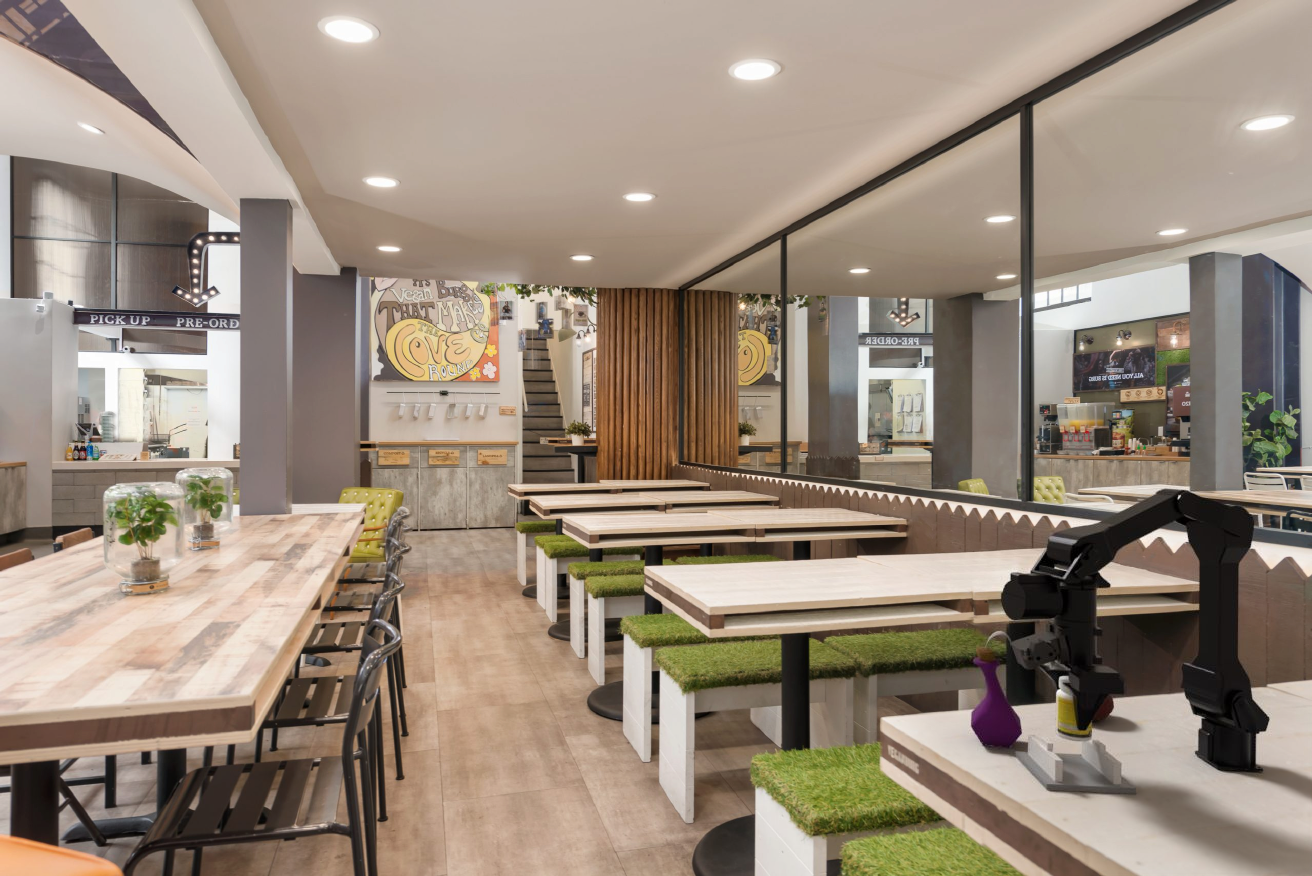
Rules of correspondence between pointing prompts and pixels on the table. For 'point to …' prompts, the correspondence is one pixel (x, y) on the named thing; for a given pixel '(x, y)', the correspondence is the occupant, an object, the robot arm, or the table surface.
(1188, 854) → the table surface
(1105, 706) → the potato
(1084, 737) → the supplement bottle
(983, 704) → the purple potion bottle
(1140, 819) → the table surface
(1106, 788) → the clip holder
